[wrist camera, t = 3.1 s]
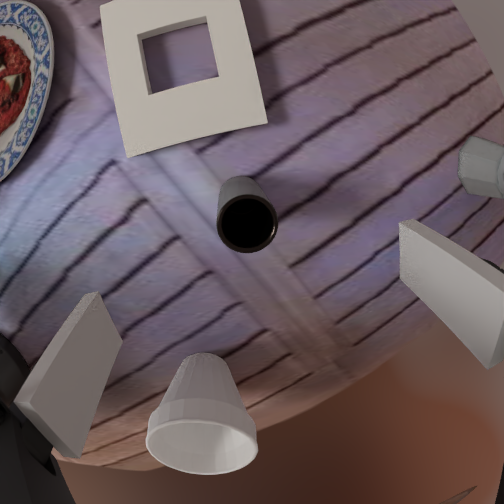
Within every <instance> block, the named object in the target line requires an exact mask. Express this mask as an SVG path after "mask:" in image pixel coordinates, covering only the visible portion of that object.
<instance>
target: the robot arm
mask: <svg viewBox="0 0 504 504" xmlns="http://www.w3.org/2000/svg"><path fill="white" fill-rule="evenodd" d="M399 237H400V280H401V281H403V282H404V283H405V284H406V285H407V286H408V287H409V288H410V289H411V290H412V291H413V292H414V293H415V294H416V295H417V296H418V297H419V298H420V299H421V300H422V301H423V302H424V303H425V304H426V305H427V306H428V307H429V308H430V309H431V310H432V311H433V312H434V313H435V314H436V315H437V316H438V317H439V318H440V319H441V320H442V321H443V322H444V323H445V324H446V325H447V326H448V327H449V328H450V330H452V332H453V333H454V334H455V335H456V336H457V337H458V338H459V339H460V340H461V341H462V342H463V343H464V345H465V346H466V347H467V348H468V349H469V350H470V351H471V352H472V353H473V354H474V356H475V357H476V358H477V359H478V360H479V361H480V362H481V363H482V364H483V365H484V367H485V368H486V369H487V370H488V369H490V368H492V367H493V366H495V365H497V364H498V363H500V362H501V361H503V358H504V270H503V269H500V267H498V266H497V265H495V264H494V263H492V262H491V261H488V260H485V259H482V258H479V257H477V256H476V255H474V254H472V253H471V252H469V251H468V250H466V249H464V248H463V247H461V246H460V245H458V244H456V243H455V242H453V241H451V240H450V239H448V238H446V237H444V236H443V235H441V234H439V233H438V232H436V231H434V230H432V229H431V228H429V227H427V226H425V225H423V224H422V223H420V222H418V221H416V220H414V219H411V220H406V221H402V222H399ZM122 343H123V341H122V339H121V337H120V335H119V333H118V331H117V329H116V327H115V325H114V323H113V321H112V319H111V317H110V315H109V313H108V311H107V309H106V306H105V304H104V302H103V300H102V298H101V295H100V293H99V291H97V292H93V293H88V294H85V295H84V296H83V297H82V299H81V300H80V301H79V303H78V304H77V306H76V307H75V308H74V310H73V311H72V312H71V314H70V315H69V316H68V318H67V319H66V321H65V322H64V323H63V325H62V326H61V328H60V329H59V331H58V332H57V334H56V335H55V336H54V338H53V339H52V341H51V342H50V344H49V345H48V347H47V348H46V350H45V351H44V353H43V354H42V356H41V357H40V359H39V360H38V362H37V363H36V364H35V365H34V367H33V368H32V370H31V372H30V370H29V368H28V366H27V364H26V362H25V361H24V359H23V357H22V356H21V355H20V353H19V352H18V351H17V350H16V348H15V347H14V346H13V345H12V344H11V343H10V342H9V341H8V340H7V339H6V338H5V337H4V336H2V335H1V334H0V504H76V503H75V501H74V499H73V497H72V495H71V493H70V491H69V488H68V486H67V484H66V482H65V480H64V477H63V475H62V473H61V470H60V467H59V465H58V462H57V460H56V459H55V457H54V456H53V455H52V454H51V451H52V448H53V447H54V448H55V449H56V450H57V451H58V452H59V453H60V454H61V455H62V456H64V457H71V458H80V457H81V454H82V451H83V448H84V444H85V441H86V438H87V435H88V432H89V429H90V426H91V424H92V421H93V418H94V415H95V412H96V409H97V407H98V404H99V401H100V398H101V396H102V393H103V390H104V388H105V385H106V382H107V380H108V377H109V375H110V372H111V370H112V367H113V365H114V362H115V360H116V357H117V355H118V352H119V350H120V347H121V345H122ZM495 504H504V465H503V470H502V475H501V480H500V485H499V489H498V493H497V497H496V501H495Z"/></svg>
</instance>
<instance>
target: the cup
mask: <svg viewBox="0 0 504 504" xmlns="http://www.w3.org/2000/svg"><path fill="white" fill-rule="evenodd" d="M146 447H147V449H148V450H149V452H150V454H151V455H152V456H153V457H155V458H156V459H157V460H158V461H159V462H161V463H163V464H165V465H166V466H168V467H171V468H174V469H176V470H179V471H183V472H188V473H193V474H204V475H207V474H222V473H228V472H231V471H235V470H238V469H240V468H242V467H244V466H246V465H248V464H249V463H250V462H251V461H252V460H253V459H254V458H255V456H256V454H257V452H258V445H257V442H256V426H255V423H254V421H253V420H252V418H251V416H249V415H248V413H247V411H246V409H245V406H244V404H243V401H242V399H241V397H240V394H239V392H238V389H237V387H236V385H235V382H234V380H233V377H232V375H231V372H230V370H229V367H228V365H227V363H226V362H225V361H224V360H223V359H222V358H220V357H218V356H217V355H214V354H211V353H196V354H192V355H190V356H188V357H186V358H185V359H184V360H183V361H182V363H181V365H180V367H179V369H178V371H177V373H176V375H175V376H174V378H173V380H172V382H171V384H170V386H169V388H168V390H167V392H166V393H165V395H164V397H163V399H162V401H161V403H160V405H159V407H158V408H157V409H156V410H154V411H153V412H152V414H151V416H150V418H149V422H148V433H147V437H146Z"/></svg>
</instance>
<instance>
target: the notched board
mask: <svg viewBox="0 0 504 504" xmlns="http://www.w3.org/2000/svg"><path fill="white" fill-rule="evenodd" d="M100 13H101V22H102V30H103V37H104V44H105V51H106V57H107V63H108V69H109V75H110V81H111V86H112V91H113V97H114V102H115V107H116V111H117V116H118V121H119V125H120V130H121V134H122V138H123V143H124V147H125V151H126V155H127V158H130V157H134V156H137V155H140V154H143V153H147V152H150V151H153V150H157V149H160V148H164V147H167V146H171V145H174V144H178V143H182V142H186V141H190V140H193V139H197V138H201V137H206V136H210V135H214V134H218V133H223V132H227V131H232V130H237V129H242V128H246V127H252V126H257V125H262V124H267V123H268V121H267V117H266V112H265V107H264V103H263V98H262V93H261V89H260V84H259V80H258V75H257V71H256V67H255V62H254V58H253V54H252V49H251V45H250V41H249V37H248V33H247V29H246V25H245V21H244V17H243V13H242V9H241V5H240V1H239V0H114V1H111V2H109V3H106V4H104V5H101V6H100ZM202 23H207V24H208V28H209V33H210V37H211V42H212V46H213V51H214V55H215V60H216V64H217V69H218V73H219V77H216V78H211V79H207V80H203V81H198V82H194V83H190V84H186V85H183V86H179V87H175V88H172V89H168V90H165V91H161V92H158V93H154V94H152V90H151V86H150V81H149V76H148V71H147V65H146V60H145V55H144V50H143V44H142V40H143V39H146V38H149V37H153V36H156V35H159V34H163V33H166V32H170V31H173V30H177V29H181V28H185V27H189V26H193V25H198V24H202Z"/></svg>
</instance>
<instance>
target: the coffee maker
mask: <svg viewBox="0 0 504 504" xmlns="http://www.w3.org/2000/svg"><path fill="white" fill-rule="evenodd" d="M458 177H459V179H460V181H461V183H462V184H463V186H464V188H465V190H466V192H467V194H473V195H481V196H488V197H495V198H501V199H504V146H502V145H500V144H497V143H495V142H492V141H490V140H487V139H483V138H479V137H474V136H470V137H469V139H468V140H467V141H466V143H465V144H464V145H463V147H462V148H461V149H460V150H459V163H458Z"/></svg>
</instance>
